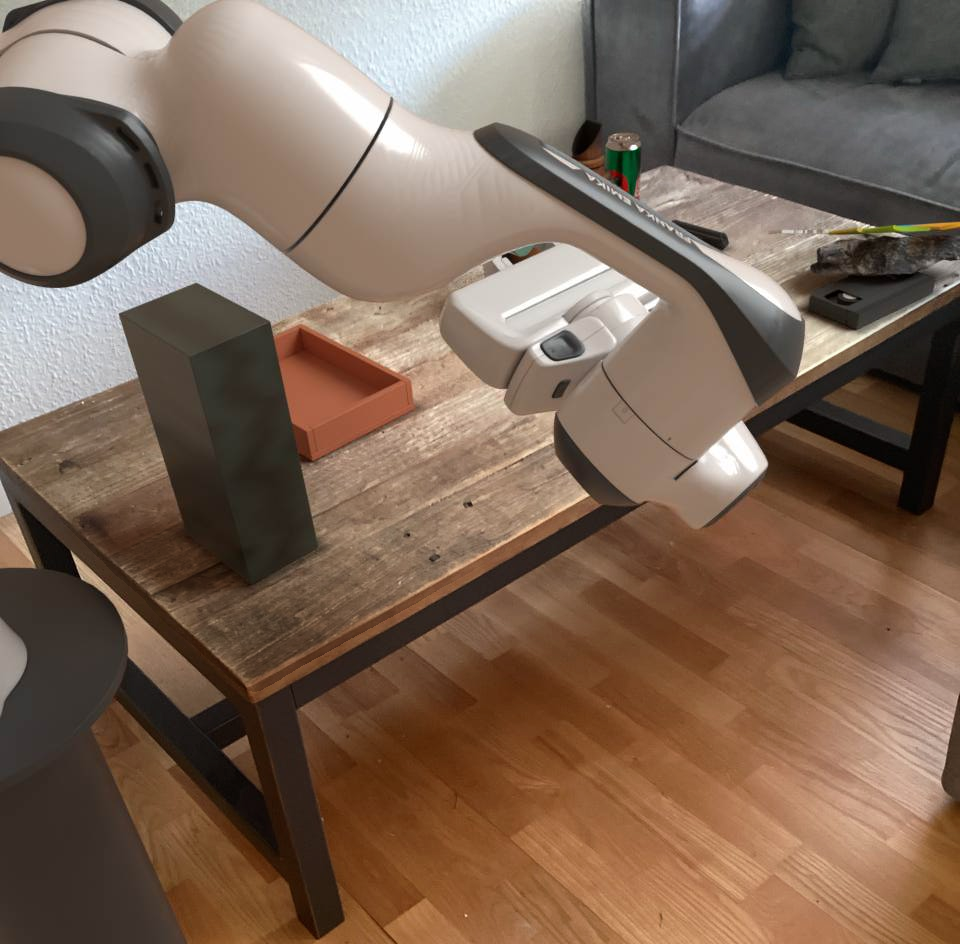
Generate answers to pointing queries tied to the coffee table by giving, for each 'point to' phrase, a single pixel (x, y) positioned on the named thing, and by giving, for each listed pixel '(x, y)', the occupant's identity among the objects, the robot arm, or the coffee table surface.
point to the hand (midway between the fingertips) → (496, 225)
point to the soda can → (624, 162)
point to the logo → (877, 229)
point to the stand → (223, 427)
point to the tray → (335, 391)
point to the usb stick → (705, 234)
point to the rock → (885, 255)
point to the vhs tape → (869, 297)
